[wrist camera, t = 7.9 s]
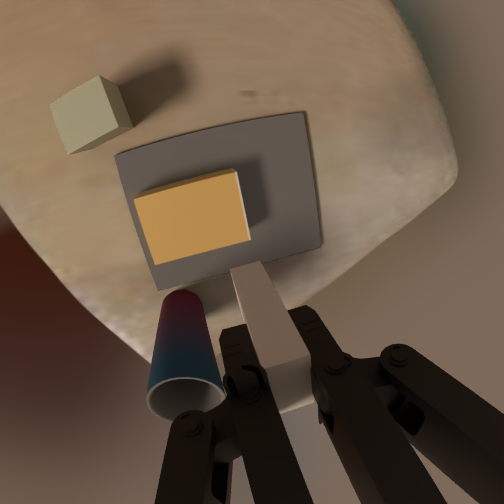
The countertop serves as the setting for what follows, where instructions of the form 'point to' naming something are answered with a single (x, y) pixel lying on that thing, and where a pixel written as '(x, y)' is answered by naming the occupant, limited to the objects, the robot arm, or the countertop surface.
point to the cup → (183, 360)
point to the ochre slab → (193, 215)
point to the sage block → (90, 115)
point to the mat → (251, 184)
